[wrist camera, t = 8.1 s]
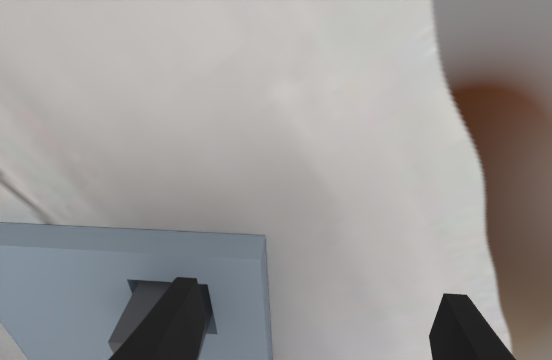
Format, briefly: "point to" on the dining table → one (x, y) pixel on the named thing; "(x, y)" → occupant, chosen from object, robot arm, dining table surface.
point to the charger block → (144, 302)
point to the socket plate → (126, 287)
